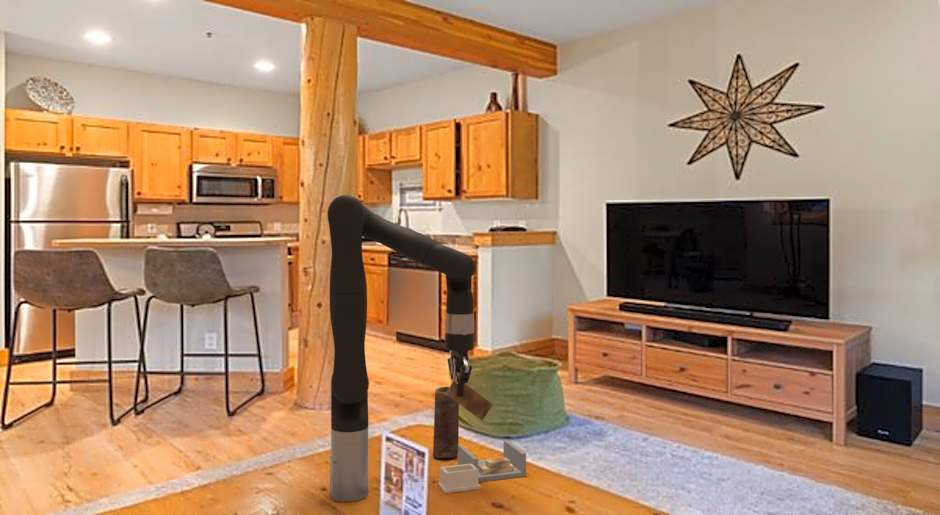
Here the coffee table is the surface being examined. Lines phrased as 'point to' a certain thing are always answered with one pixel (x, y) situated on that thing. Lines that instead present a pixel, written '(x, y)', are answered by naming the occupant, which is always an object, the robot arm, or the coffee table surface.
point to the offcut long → (495, 469)
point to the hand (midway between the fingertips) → (459, 398)
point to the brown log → (445, 425)
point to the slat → (470, 400)
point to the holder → (458, 478)
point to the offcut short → (497, 462)
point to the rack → (510, 452)
